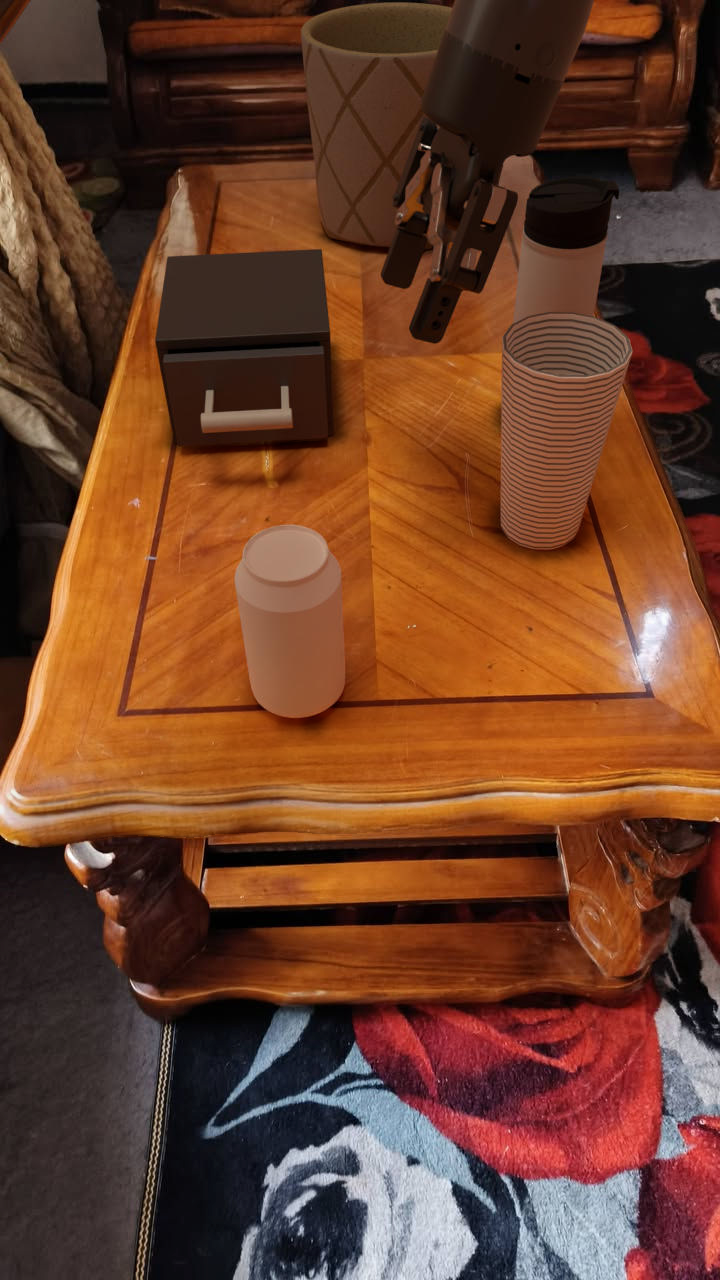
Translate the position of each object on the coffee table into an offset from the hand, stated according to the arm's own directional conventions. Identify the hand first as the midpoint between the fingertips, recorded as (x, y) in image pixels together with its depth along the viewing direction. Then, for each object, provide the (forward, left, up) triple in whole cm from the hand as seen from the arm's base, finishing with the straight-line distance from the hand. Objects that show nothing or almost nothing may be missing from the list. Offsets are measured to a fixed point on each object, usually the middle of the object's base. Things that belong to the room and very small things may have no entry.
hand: (408, 310), depth 65 cm
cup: (+10, -5, -16) cm, 20 cm away
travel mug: (+13, +9, -16) cm, 23 cm away
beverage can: (-9, -20, -16) cm, 27 cm away
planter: (+4, +51, -16) cm, 54 cm away
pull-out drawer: (-12, +12, -15) cm, 23 cm away
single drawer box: (-12, +16, -16) cm, 26 cm away
